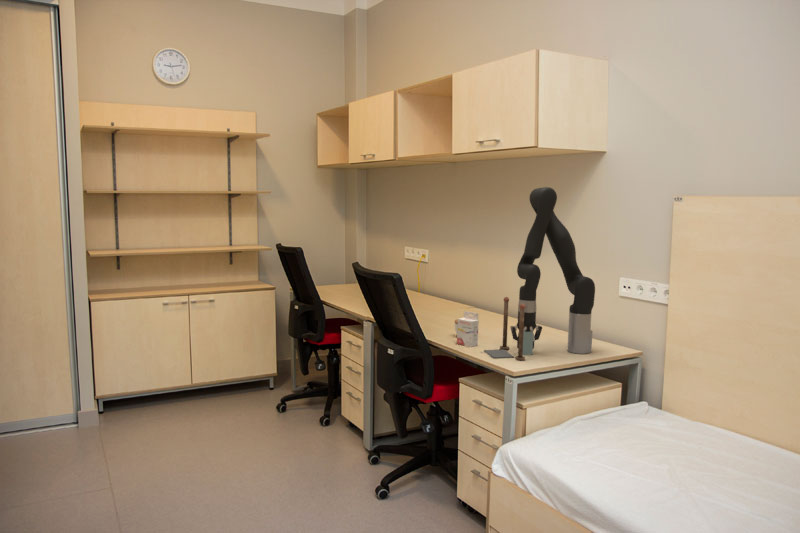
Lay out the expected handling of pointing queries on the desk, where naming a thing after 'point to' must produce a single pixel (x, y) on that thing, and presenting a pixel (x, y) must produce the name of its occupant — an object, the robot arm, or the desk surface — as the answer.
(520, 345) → the post
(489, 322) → the desk surface
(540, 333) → the robot arm
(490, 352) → the mat
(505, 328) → the post
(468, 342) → the ink cartridge box
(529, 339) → the block
